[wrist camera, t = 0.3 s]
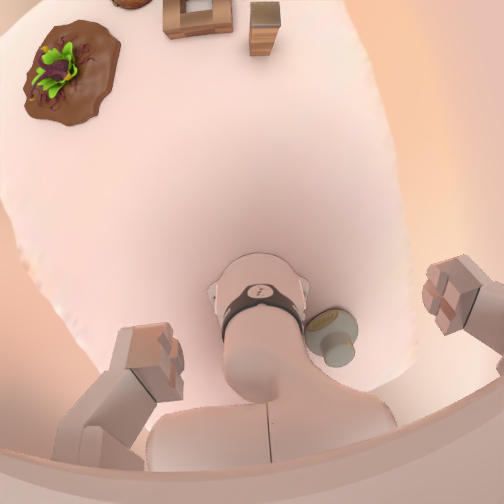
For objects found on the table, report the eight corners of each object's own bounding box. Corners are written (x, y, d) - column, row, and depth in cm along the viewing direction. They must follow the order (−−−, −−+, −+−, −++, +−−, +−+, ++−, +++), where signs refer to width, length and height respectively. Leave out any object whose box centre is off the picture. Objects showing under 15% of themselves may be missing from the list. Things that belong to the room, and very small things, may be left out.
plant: (137, 29, 37) (112, 8, 27) (98, 133, 44) (65, 137, 34) (53, 21, 34) (20, 8, 24) (21, 113, 41) (-16, 117, 31)
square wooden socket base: (232, 32, 38) (231, 22, 34) (170, 39, 38) (162, 31, 34) (230, -16, 34) (229, -29, 30) (170, -9, 34) (163, -20, 30)
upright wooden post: (269, 55, 40) (281, 24, 26) (249, 56, 40) (252, 24, 25) (268, 38, 39) (279, 1, 24) (248, 39, 39) (250, 2, 24)
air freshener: (343, 298, 58) (358, 328, 49) (358, 324, 61) (374, 354, 51) (296, 325, 60) (303, 358, 51) (314, 349, 63) (323, 382, 54)
